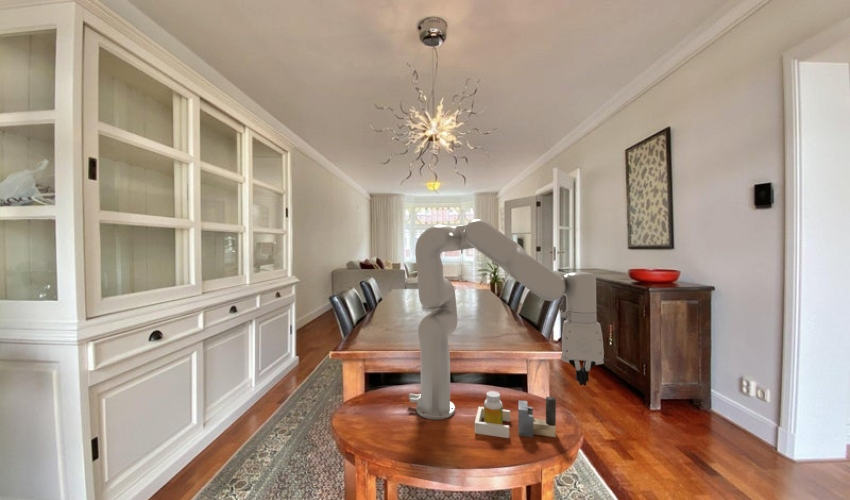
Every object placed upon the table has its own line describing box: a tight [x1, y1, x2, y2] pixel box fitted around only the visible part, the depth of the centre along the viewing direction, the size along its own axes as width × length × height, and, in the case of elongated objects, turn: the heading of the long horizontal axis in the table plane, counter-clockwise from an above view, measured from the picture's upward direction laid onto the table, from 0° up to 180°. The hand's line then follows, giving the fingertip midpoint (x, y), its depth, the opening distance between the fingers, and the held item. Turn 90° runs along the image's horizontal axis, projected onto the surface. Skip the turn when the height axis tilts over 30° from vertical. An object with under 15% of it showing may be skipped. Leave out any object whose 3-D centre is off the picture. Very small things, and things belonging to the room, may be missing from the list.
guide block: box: [517, 399, 534, 438], centre depth 97 cm, size 4×6×7 cm
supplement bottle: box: [483, 390, 504, 425], centre depth 99 cm, size 5×5×10 cm
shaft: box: [533, 396, 557, 438], centre depth 96 cm, size 8×3×10 cm, turn 74°
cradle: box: [474, 406, 511, 439], centre depth 100 cm, size 10×10×3 cm
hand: (582, 383), depth 93 cm, fingers closed
